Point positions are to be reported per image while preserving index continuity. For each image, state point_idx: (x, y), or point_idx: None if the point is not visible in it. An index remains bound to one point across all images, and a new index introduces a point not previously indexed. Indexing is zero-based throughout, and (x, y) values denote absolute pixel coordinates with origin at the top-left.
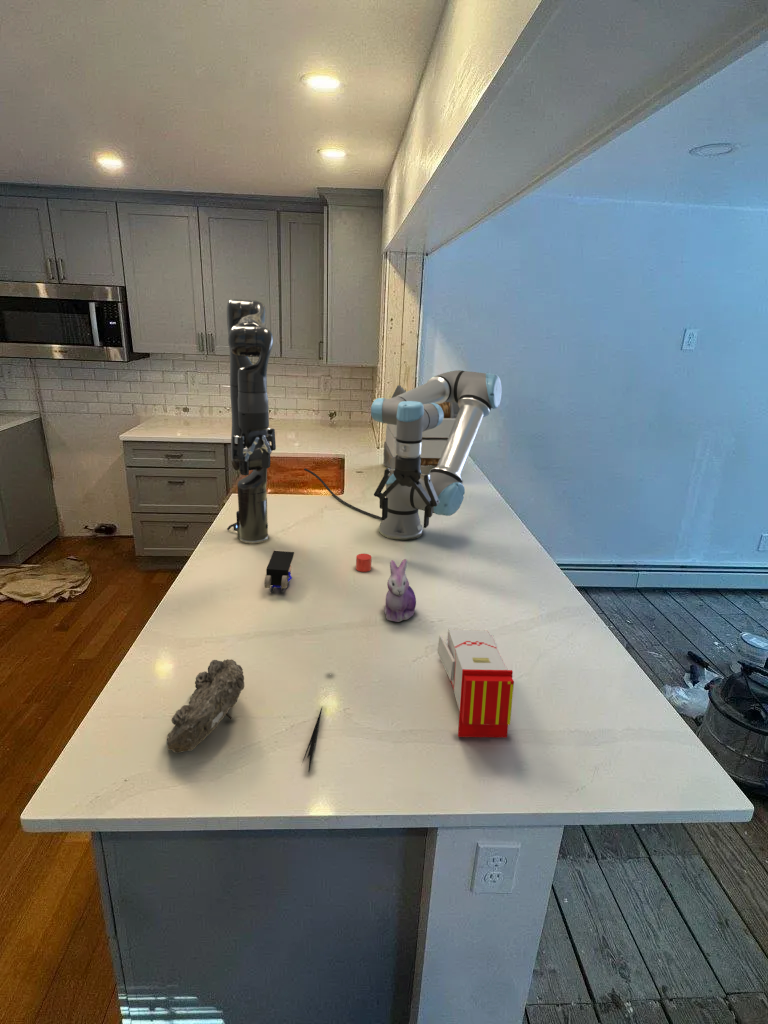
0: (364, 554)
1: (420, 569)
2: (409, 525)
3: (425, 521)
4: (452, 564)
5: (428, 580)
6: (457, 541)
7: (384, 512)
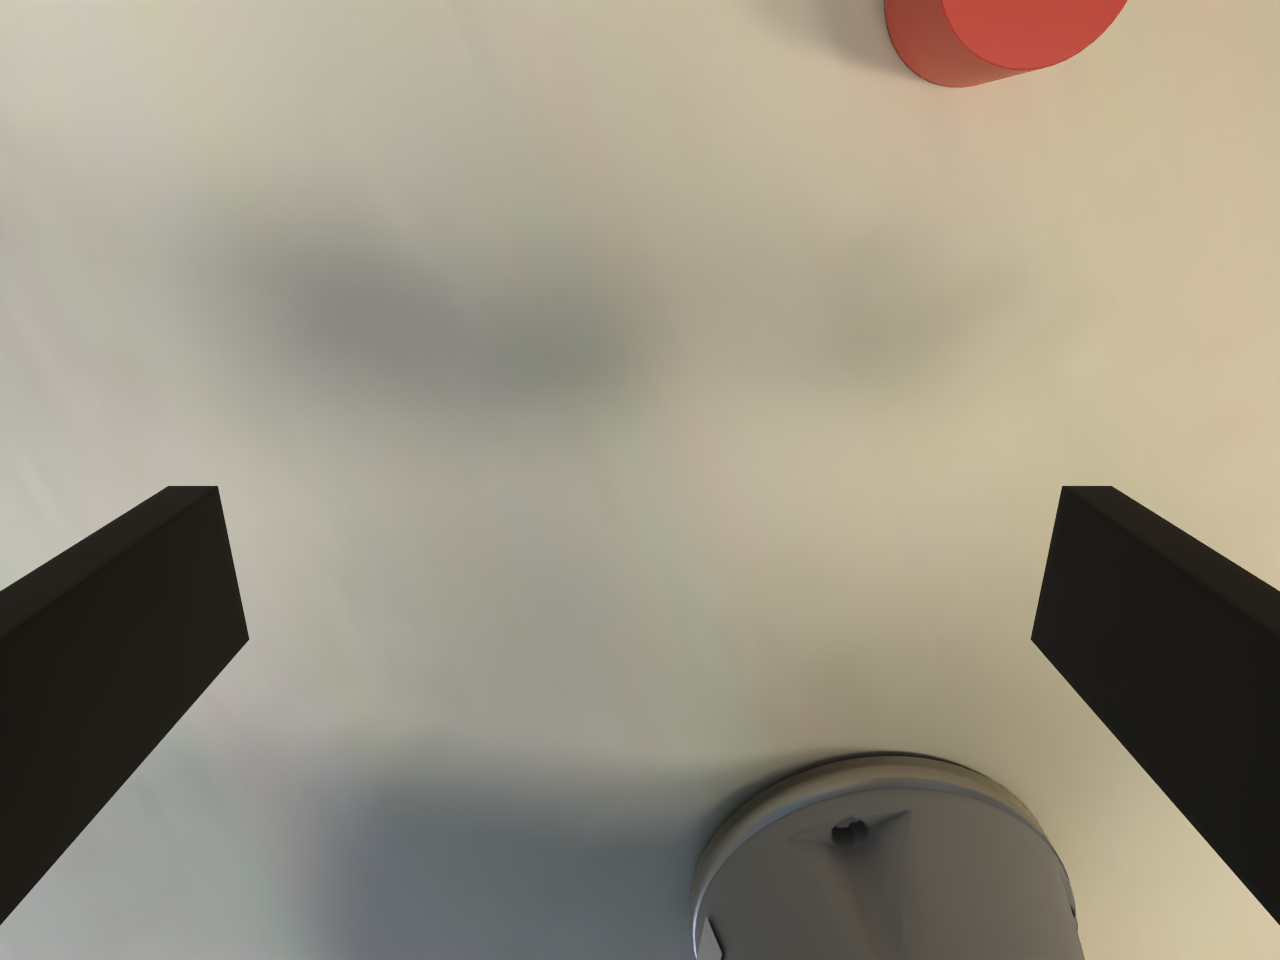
0: (1052, 28)
1: (421, 289)
2: (783, 925)
3: (88, 542)
4: None
5: (234, 72)
6: (397, 922)
7: (1166, 574)
